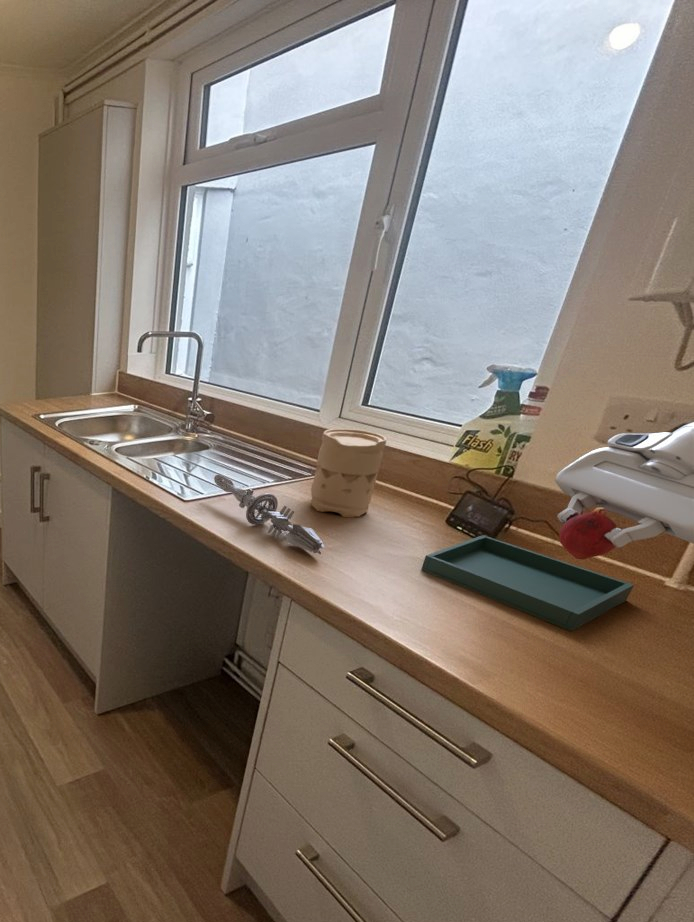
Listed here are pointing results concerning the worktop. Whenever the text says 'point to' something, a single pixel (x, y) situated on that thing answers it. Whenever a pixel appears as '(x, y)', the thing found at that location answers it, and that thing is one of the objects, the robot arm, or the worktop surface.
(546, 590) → the tray
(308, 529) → the spaceship
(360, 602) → the worktop surface
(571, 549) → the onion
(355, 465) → the container
